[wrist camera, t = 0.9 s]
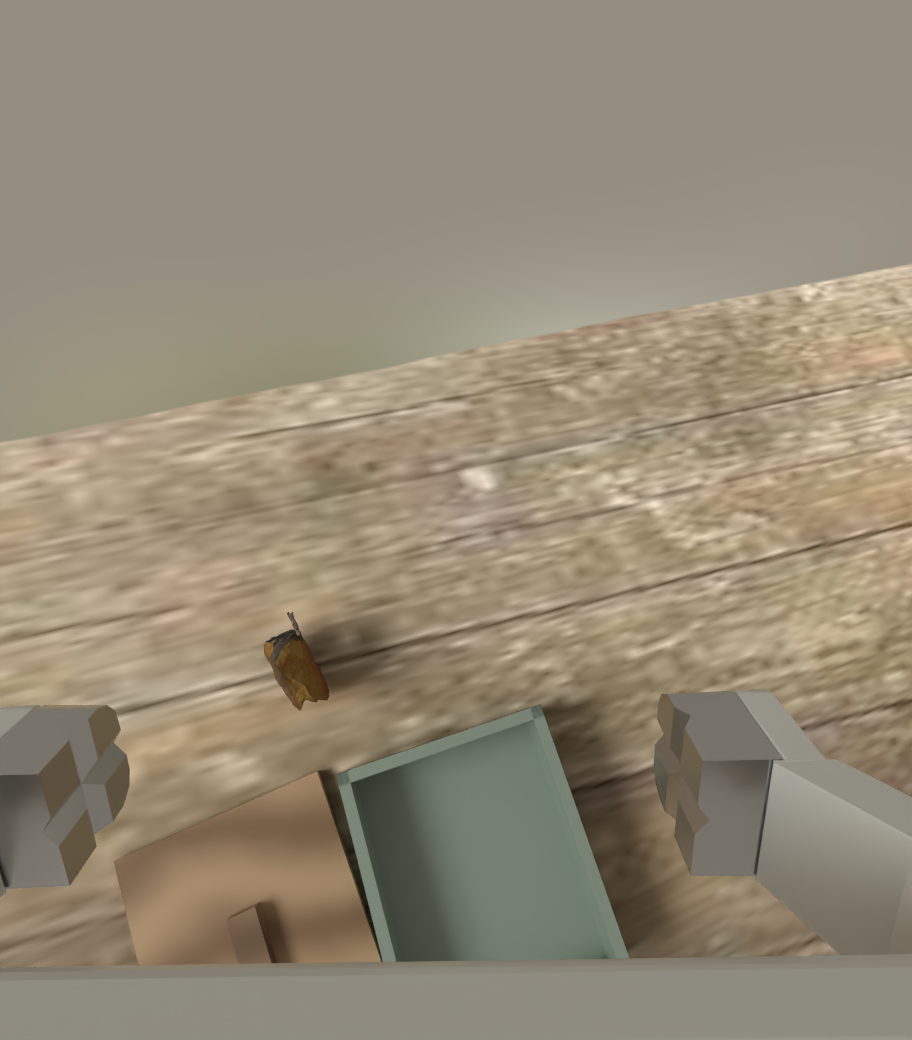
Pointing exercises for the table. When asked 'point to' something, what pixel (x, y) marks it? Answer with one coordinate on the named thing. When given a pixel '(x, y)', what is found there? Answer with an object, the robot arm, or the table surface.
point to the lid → (250, 887)
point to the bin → (478, 850)
